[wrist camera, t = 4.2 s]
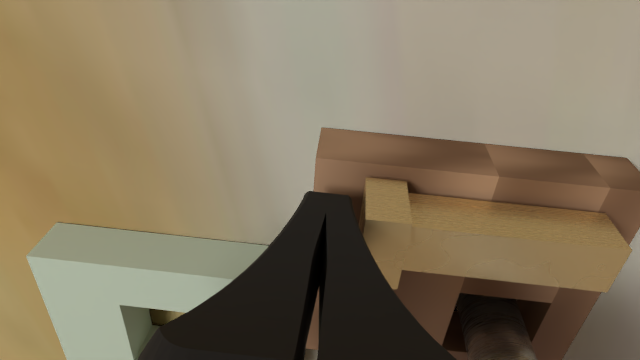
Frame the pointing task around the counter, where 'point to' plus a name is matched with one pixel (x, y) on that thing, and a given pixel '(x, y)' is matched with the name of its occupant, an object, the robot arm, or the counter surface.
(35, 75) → the counter surface
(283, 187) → the counter surface
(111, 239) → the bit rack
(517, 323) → the silver cylindrical rod
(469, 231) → the bar
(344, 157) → the socket block
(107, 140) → the counter surface
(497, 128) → the counter surface
